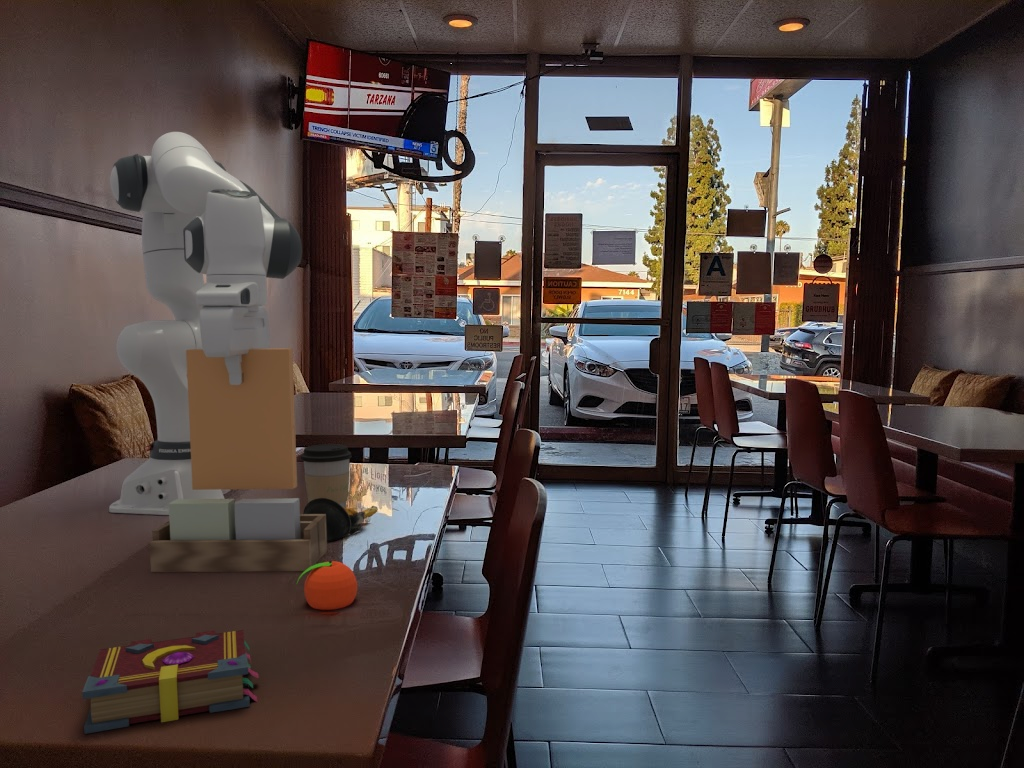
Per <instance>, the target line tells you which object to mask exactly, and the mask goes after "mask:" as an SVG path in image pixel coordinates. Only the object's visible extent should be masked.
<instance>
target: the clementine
mask: <svg viewBox="0 0 1024 768" xmlns="http://www.w3.org/2000/svg"><path fill="white" fill-rule="evenodd" d="M307 572H309V574H308V575H307V577H306V579H305V581H304V588H303V589H304V590H303V591H304V597H305V600H306V602H307V603H308V605H309V607H310V608H312V609H316V610H322V612H319V613H318V614H322V615H327V616H328V615H329V616H330V615H331V616H332V615H337V614H340V613H341V612H338V611H337V612H333V611H332V610H338V609H342V608H345V607H348V606H350V605H351V604H353V603H354V601H355V599H356V596H357V593H358V582H357V577H356V575H355V574H354V571H353V570H352V569H351V568H350V567H349V566H348V565H346V564H345V563H343V562H340V561H335V560H329V561H324V562H319V563H316V564H315V565H313V566H311V567H309V568H308V569H307V570H305V571H302V573H301V574H300V575H299V577H298V579H297V582H296V586H297V585H298V582H300V581H299V580H300V579H301V578H302V577H303V576H304V575H305V574H306V573H307ZM323 611H324V612H323ZM325 611H326V612H325ZM327 611H331V612H327Z"/></svg>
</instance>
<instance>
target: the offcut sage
mask: <svg viewBox="0 0 1024 768" xmlns="http://www.w3.org/2000/svg"><path fill="white" fill-rule="evenodd" d="M234 503H236V498H225V499H177V500H175V501H173V502H171V503H169V515H168V517H169V518H168V519H169V520H168V521H170V540H236V529H235V506H234Z"/></svg>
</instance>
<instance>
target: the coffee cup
mask: <svg viewBox="0 0 1024 768" xmlns="http://www.w3.org/2000/svg"><path fill="white" fill-rule="evenodd" d="M352 456H353V455H352V452H351V451H350V450H349V448H348V446H347V445H345V444H340V443H325V444H323V443H322V444H316V445H315V444H314V445H313V444H312V445H309V446H305V447H304V448H303V453H302V454H300V458H299V460H300V461H302V462H303V467H304V482H305V487H306V488H305V489H306V494H307V504H308V503H309V502H310V501H312V500H314V499H318V498H327V499H331V500H333V501H335V502H337V503H339V504H340V505H341V506H342V507H344V508H347V503H348V502H347V501H348V500H349V499H348V498H349V497H348V495H349V482H350V481H349V480H350V469H349V468H350V459H351V458H353V457H352Z"/></svg>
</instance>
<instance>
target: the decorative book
mask: <svg viewBox="0 0 1024 768" xmlns="http://www.w3.org/2000/svg"><path fill="white" fill-rule="evenodd" d="M246 648H247V649H248V651H249V652H250V646H249V644H248V643H247V641H246V640H245V633H244V629H240V630H233V631H226V632H219V633H216V630H207V631H201V632H195V636H189V637H183V638H175V639H166V640H159V641H158V640H157V641H152V638H148V639H141V640H140V639H139V640H134V641H130V644H129V645H121V646H116V647H109V648H101V649H99V652H98V654H97V657H96V661H95V664H94V665H93V668H92V670H91V674H90V675H87V679H86V682H85V684H84V686H83V688H82V692H81V693H82V694H81V695H82V700H87V699H90V708H89V710H88V711H89V712H88V715H87V717H86V721H85V723H84V727H83V730H84V734H85V735H86V734H93V733H98V732H103V731H109V730H110V731H111V730H115V729H116V730H117V729H122V728H127V727H130V725H131V724H137V723H143V722H150V721H157V720H160V723H165V722H171V721H177V720H179V717H181V716H185V715H186V716H187V715H191V714H198V713H204V712H209V713H211V714H212V713H217V712H224V711H229V710H236V709H242V708H249V707H251V704H250V701H251V700H250V698H251V699H252V700H253V701H254V702H258V696H257V695H255V694H254V693H253V692H252V691H251V690H250V688H249V687H251V688H252V689H254V683H253V682H252V681H251V680H250V679H249V678H247V675H249V674H250V675H251V676H253V677H255V678H257V679H259V672H257V671H254V670H252V667H251V665H252V664H251V663H250V664H249V662H248V659H249V660H250V662H252V659H251V655H250V654H249V653H247V652H246Z"/></svg>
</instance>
